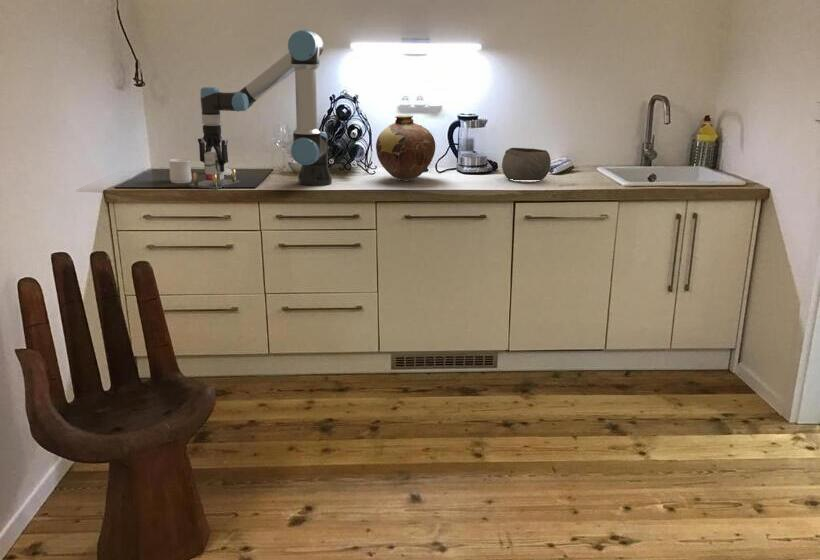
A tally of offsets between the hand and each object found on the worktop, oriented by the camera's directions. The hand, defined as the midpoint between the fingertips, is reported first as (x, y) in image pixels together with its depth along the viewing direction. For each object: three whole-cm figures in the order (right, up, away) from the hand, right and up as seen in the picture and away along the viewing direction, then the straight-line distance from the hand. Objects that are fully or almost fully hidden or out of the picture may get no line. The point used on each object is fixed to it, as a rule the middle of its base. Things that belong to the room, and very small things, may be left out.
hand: (215, 178), depth 304 cm
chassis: (0, -3, +1) cm, 3 cm away
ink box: (0, 0, 0) cm, 0 cm away
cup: (-17, -1, +6) cm, 18 cm away
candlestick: (-6, +7, +30) cm, 31 cm away
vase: (+83, +2, +22) cm, 86 cm away
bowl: (+141, +3, +29) cm, 144 cm away
